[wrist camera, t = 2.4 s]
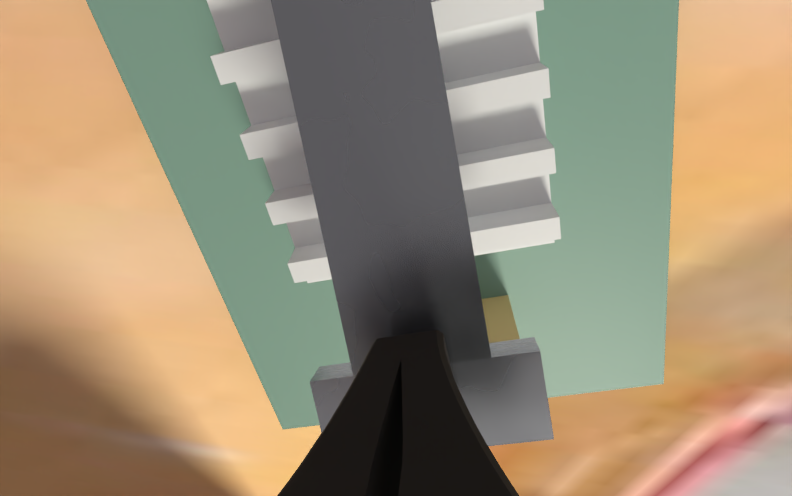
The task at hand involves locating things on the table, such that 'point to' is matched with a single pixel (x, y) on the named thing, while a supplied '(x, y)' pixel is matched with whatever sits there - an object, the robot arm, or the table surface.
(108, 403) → the table surface
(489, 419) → the grey flat bar
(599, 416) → the table surface
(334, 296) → the board
